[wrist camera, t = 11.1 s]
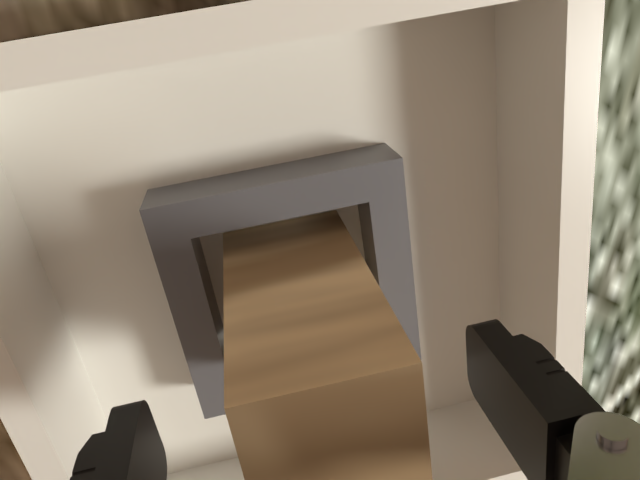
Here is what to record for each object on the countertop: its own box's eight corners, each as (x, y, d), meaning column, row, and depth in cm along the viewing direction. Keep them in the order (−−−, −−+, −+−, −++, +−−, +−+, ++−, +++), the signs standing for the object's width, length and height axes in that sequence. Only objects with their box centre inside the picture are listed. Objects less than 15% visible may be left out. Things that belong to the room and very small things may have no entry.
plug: (223, 233, 19) (223, 409, 11) (335, 210, 19) (421, 362, 11) (246, 329, 20) (263, 546, 12) (350, 306, 21) (434, 502, 13)
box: (-66, 53, 16) (-179, 72, 12) (509, -44, 18) (608, -61, 13) (119, 486, 24) (95, 601, 19) (512, 390, 25) (576, 475, 21)
